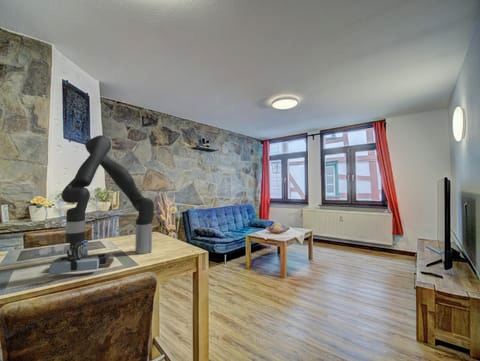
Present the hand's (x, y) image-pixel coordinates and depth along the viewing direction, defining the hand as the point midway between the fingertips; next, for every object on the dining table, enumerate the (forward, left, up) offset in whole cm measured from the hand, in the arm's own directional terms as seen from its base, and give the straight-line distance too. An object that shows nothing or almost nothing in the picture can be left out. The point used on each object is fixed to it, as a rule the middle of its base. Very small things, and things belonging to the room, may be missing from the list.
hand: (75, 268), depth 105 cm
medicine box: (+7, -29, -3) cm, 30 cm away
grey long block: (0, 0, -1) cm, 1 cm away
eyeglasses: (+23, -40, -4) cm, 46 cm away
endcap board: (0, -11, -3) cm, 11 cm away
